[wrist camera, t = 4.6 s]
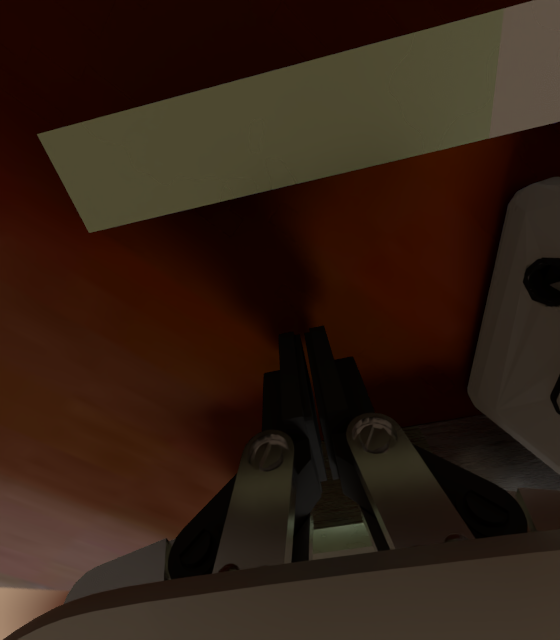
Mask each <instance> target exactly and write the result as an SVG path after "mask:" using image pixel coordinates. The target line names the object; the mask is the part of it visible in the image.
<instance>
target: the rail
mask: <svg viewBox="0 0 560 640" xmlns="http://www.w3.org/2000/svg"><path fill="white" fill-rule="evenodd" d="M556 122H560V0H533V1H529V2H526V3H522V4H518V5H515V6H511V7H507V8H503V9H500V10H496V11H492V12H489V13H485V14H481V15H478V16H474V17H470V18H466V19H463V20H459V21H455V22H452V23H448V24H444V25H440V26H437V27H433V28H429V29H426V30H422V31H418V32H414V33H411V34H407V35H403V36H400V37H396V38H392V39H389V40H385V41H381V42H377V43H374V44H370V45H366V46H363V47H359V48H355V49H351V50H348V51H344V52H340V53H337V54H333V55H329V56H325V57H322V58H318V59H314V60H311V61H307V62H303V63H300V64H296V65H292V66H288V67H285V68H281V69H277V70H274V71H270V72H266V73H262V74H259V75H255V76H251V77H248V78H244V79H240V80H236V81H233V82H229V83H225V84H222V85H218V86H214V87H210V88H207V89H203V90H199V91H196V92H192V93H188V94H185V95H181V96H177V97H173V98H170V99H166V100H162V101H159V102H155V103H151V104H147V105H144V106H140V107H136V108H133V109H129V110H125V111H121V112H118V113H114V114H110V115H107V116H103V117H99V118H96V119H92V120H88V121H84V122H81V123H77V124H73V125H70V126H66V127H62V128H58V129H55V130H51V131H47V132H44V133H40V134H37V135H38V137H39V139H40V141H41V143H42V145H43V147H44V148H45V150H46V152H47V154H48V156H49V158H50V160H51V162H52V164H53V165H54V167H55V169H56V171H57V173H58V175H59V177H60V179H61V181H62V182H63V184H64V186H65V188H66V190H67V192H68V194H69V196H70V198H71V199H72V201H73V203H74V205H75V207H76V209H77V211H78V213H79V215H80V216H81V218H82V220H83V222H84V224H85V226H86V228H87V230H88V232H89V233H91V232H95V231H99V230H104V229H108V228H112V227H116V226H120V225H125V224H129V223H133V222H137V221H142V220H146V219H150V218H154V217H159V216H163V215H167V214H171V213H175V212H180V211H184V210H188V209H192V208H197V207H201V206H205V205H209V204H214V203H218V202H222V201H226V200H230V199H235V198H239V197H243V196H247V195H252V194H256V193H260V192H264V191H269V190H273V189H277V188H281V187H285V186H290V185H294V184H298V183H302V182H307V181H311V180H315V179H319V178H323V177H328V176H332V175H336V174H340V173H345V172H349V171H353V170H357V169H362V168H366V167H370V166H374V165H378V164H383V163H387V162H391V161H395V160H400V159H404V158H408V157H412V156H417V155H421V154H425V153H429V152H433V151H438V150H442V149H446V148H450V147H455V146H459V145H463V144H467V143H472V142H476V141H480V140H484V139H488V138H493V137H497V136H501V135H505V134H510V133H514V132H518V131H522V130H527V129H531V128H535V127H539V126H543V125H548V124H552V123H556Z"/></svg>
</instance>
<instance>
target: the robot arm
mask: <svg viewBox="0 0 560 640" xmlns="http://www.w3.org/2000/svg"><path fill="white" fill-rule="evenodd" d="M309 330H310V332H309V333H304V335H305V340H306V346H307V352H308V357H309V363H310V368H311V374H312V380H313V385H314V391H315V397H316V402H317V408H318V413H319V418H320V423H321V427H322V432H323V436H324V441H325V446H326V450H327V455H328V459H329V464H330V469H331V473H332V478H333V480H336V479H340V482H341V487H342V490H343V494H344V495H346V496H347V497H349V498H350V499H352V500H353V501H354V502H356V503H357V505H358V509H359V512H360V515H361V517H362V520H363V522H364V525H365V527H366V530H367V532H368V535H369V537H370V540H371V543H372V545H373V548H374V550H375V552H370V553H362V554H355V555H347V556H339V557H332V558H324V559H317V560H313V522H314V514H313V508H314V506H315V505H316V503H317V502H318V501H319V499H320V498H321V493H323V492H322V485H321V482H323V481H327V475H326V469H325V463H324V457H323V451H322V445H321V439H320V434H319V428H318V422H317V416H316V410H315V404H314V398H313V393H312V388H311V383H310V379H309V374H308V370H307V365H306V361H305V356H304V351H303V347H302V342H301V338H300V334H299V335H294V332H289V333H284V334H279V356H280V370H278V371H273V372H267V373H264V382H263V415H262V432H260V433H258V434H256V435H255V436H254V437H252V438H251V439H250V440H249V442H248V443H247V444H246V445H245V448H244V450H243V453H242V457H241V461H240V465H239V469H238V473H237V474H236V475H235V476H234V477H233V478H232V479H231V480H230V481H229V482H228V483H227V484H226V485H225V486H224V487H223V488H222V489H221V490H220V492H219V493H218V494H217V495H216V496H215V497H214V498H213V499H212V500H211V501H210V502H209V503H208V504H207V505H206V506H205V507H204V508H203V509H202V510H201V511H200V512H199V513H198V514H197V515H196V516H195V517H194V518H193V519H192V520H191V521H190V522H189V523H188V525H187V526H186V527H185V528H184V529H183V530H182V531H181V532H180V534H179V535H178V536H177V537H176V539H174V540H171V541H168V540H167V538H166V539H163V540H161V541H158V542H156V543H153V544H151V545H148V546H146V547H144V548H141V549H139V550H136V551H134V552H131V553H129V554H126V555H124V556H122V557H119V558H117V559H114V560H112V561H109V562H107V563H104V564H102V565H100V566H97V567H95V568H93V569H92V570H90V571H88V572H87V573H85V574H84V575H83V576H82V577H81V578H80V579H79V580H78V581H77V582H76V583H75V585H74V586H73V588H72V589H71V591H70V592H69V594H68V595H67V598H66V600H65V602H64V604H63V605H61V606H58V607H56V608H54V609H52V610H50V611H48V612H46V613H45V614H43V615H41V616H39V617H37V618H35V619H33V620H32V621H30V622H29V623H27V624H26V625H24V626H22V627H21V628H19V629H17V630H16V631H14V632H13V633H12V634H10V635H9V636H7V637H6V638H5V639H3V640H560V491H558V490H545V489H532V488H519V487H518V489H517V492H516V491H506V490H504V489H503V488H501V487H499V486H498V485H496V484H494V483H492V482H490V481H488V480H486V479H484V478H482V477H480V476H478V475H476V474H474V473H472V472H470V471H468V470H466V469H464V468H462V467H460V466H458V465H455V464H453V463H451V462H449V461H447V460H445V459H443V458H441V457H439V456H437V455H435V454H433V453H431V452H429V451H427V450H425V449H423V448H421V447H418V446H416V445H414V444H412V443H411V442H410V440H409V439H408V437H407V436H406V434H405V433H404V431H403V430H402V428H401V427H400V426H399V424H398V423H397V422H396V421H395V420H393V419H392V418H390V417H389V416H386V415H383V414H380V413H375V411H374V409H373V406H372V404H371V401H370V398H369V396H368V393H367V391H366V388H365V386H364V383H363V381H362V378H361V375H360V373H359V370H358V368H357V365H356V363H355V360H354V358H353V357H347V358H342V359H337V360H334V358H333V355H332V351H331V348H330V345H329V341H328V338H327V334H326V331H325V328H324V326H319V327H314V328H309Z"/></svg>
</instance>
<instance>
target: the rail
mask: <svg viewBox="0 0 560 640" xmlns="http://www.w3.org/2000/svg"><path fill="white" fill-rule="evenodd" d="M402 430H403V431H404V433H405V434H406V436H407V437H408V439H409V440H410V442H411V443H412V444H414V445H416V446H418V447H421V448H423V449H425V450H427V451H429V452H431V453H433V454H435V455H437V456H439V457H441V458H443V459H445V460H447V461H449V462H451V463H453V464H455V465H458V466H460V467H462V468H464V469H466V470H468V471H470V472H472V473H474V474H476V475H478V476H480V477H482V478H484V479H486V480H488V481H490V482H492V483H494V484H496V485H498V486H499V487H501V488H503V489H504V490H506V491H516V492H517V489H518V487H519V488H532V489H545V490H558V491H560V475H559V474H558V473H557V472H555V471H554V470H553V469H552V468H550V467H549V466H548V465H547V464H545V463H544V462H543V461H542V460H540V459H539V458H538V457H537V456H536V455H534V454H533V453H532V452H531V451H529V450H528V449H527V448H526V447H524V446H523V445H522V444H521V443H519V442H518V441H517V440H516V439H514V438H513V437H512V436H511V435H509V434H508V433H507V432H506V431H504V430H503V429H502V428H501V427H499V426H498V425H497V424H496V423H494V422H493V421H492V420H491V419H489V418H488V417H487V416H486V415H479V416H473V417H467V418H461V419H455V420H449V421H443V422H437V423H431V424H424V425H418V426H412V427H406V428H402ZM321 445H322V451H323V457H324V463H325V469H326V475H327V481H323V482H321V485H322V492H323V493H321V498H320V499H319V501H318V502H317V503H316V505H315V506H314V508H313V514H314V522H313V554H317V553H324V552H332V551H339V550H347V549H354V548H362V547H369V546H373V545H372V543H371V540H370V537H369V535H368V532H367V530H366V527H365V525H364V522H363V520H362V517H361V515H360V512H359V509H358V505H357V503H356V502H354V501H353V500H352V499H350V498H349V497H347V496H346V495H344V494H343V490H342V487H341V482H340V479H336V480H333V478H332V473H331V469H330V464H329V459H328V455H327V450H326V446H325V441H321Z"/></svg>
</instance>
